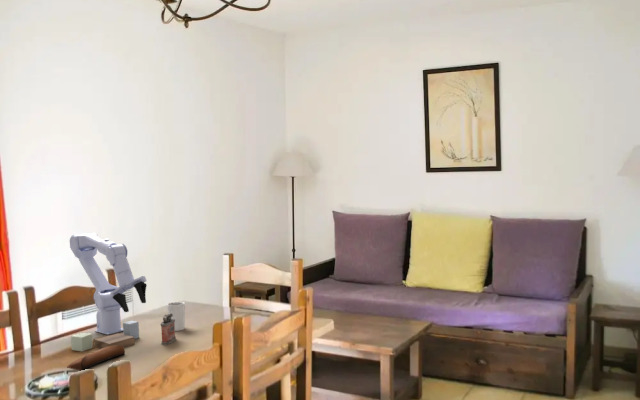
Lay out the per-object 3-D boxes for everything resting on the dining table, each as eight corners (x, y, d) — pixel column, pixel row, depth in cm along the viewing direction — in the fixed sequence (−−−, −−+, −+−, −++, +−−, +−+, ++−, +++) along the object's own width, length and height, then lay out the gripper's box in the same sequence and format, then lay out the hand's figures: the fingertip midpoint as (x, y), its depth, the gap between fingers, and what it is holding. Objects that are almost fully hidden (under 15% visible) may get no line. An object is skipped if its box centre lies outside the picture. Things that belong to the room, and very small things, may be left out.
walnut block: (94, 347, 222) (93, 339, 222) (119, 340, 230) (118, 332, 230) (109, 352, 216) (109, 343, 215) (134, 345, 223) (134, 337, 223)
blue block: (123, 338, 231) (122, 322, 231) (132, 336, 234) (132, 320, 234) (129, 340, 229) (129, 324, 228) (139, 337, 232) (138, 321, 231)
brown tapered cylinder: (107, 351, 214) (113, 336, 213) (120, 364, 212) (127, 348, 210) (64, 367, 199) (70, 351, 197) (78, 381, 196) (85, 364, 194)
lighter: (168, 344, 221) (166, 317, 220) (159, 344, 222) (158, 317, 221) (177, 338, 229) (176, 311, 228) (169, 338, 229) (168, 311, 229)
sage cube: (71, 350, 218) (71, 336, 218) (82, 346, 223) (81, 332, 223) (82, 351, 216) (81, 337, 216) (93, 347, 221) (92, 333, 220)
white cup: (183, 330, 239) (182, 305, 239) (166, 331, 240) (165, 305, 239) (187, 326, 246) (186, 301, 245) (170, 326, 246) (169, 301, 246)
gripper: (101, 281, 230) (112, 315, 226) (134, 264, 228) (146, 298, 224) (112, 283, 237) (123, 315, 233) (144, 266, 235) (155, 299, 231)
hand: (135, 307), depth 229 cm, fingers open, 7 cm apart
